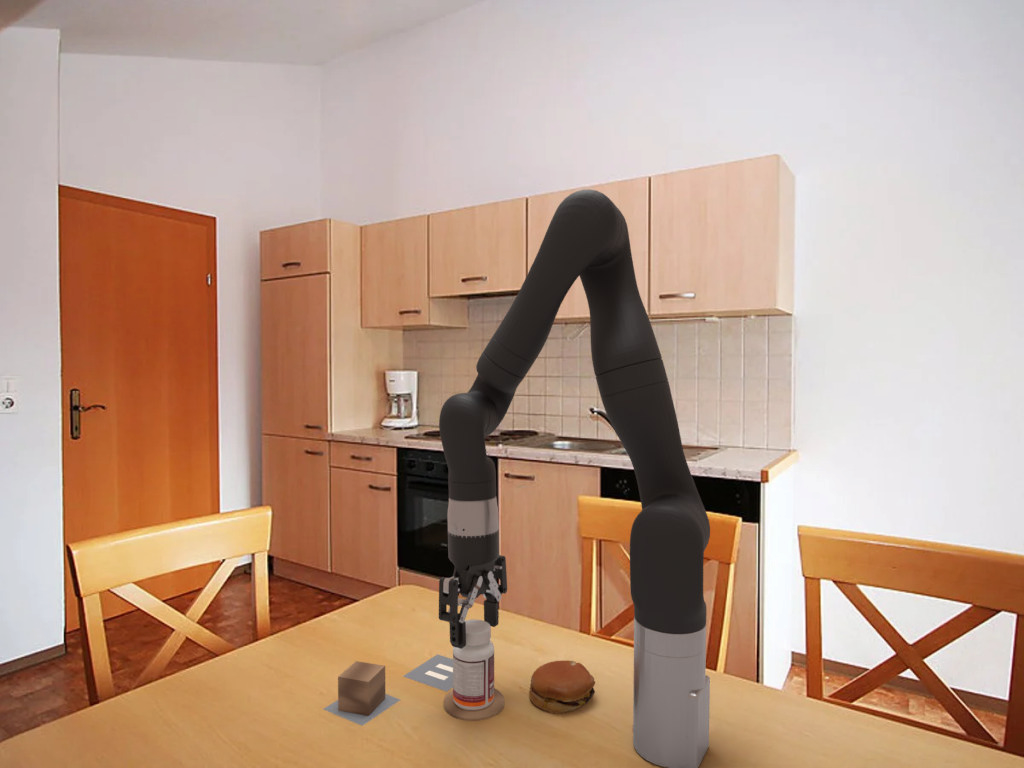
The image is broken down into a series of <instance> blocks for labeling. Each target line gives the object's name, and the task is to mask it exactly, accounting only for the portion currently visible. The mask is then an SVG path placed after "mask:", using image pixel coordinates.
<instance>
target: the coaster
mask: <svg viewBox="0 0 1024 768" xmlns="http://www.w3.org/2000/svg"><path fill="white" fill-rule="evenodd" d="M504 706H505V697H504V695H503V693H502V692H501V691H500V690H498V689H497V688H496V687H494V700H493V702H492V703H491V704H490V705H489V706H488V707H486V708H483V709H480V710H464V709H462V708H460V707H458V706H457V705H456V704H455V703H454V700H453V689H452V690H449V691H448V692H447V693H446V695H445V696H444V699H443V708H444V710H445V712H446V713H447V714H448V715H449V716H451V717H453V718H454V719H457V720H461V721H462V720H463V721H466V722H468V721H470V722H471V721H472V722H476V721H484V720H487V719H490V718H493V717H495V716H496V715H498V714H500V713H501V712H502V710H503V709H504Z"/></svg>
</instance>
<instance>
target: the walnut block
mask: <svg viewBox="0 0 1024 768" xmlns="http://www.w3.org/2000/svg"><path fill="white" fill-rule="evenodd" d="M385 694H386V665H382V664H378V663H377V664H376V663H370V662H365V661H364V662H363V661H357V660H356V661H354V662H353V663H352V664H351V665H349V666H348V667H347V668H346V669H345V670H344V671H343V672H341V673H340V674H339V675H338V676H337V698H338V699H337V700H338V710H340V711H345V712H350V713H356V714H361V715H367V716H369V715H370V714H371V713H372V712H373V711H374V710H375V709H376V708H377V707H378V706H379V704H380V703H381V702H382V701H383V700H384V699H385Z"/></svg>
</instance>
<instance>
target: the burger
mask: <svg viewBox="0 0 1024 768" xmlns="http://www.w3.org/2000/svg"><path fill="white" fill-rule="evenodd" d="M529 685H530V686H529V692H528V694H529V699H530V701H531V702H532V703H533V704H534V706H536V707H537V708H539V709H541V710H543V711H545V712H548V713H550V714H551V713H552V714H565V713H569V712H571V711H574V710H577V709H578V708H580V707H584V706H585V705H587V704H588V702H589V701H590V700H591V699H592V698H593V696H594V694H595V693H596V691H595V689H594V686H595V685H596V681H595V677H594V676H593V675H592V674H591V673H590V672H589V670H588V669H587V668H586V666H584V665H583V664H582V663H580V662H576V661H574V660H554V661H550V662H546V663H544V664H541V665H540V666H539V667H538V668H536V669H535V670H534V672H533V673H532V675H531V677H530V683H529Z"/></svg>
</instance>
